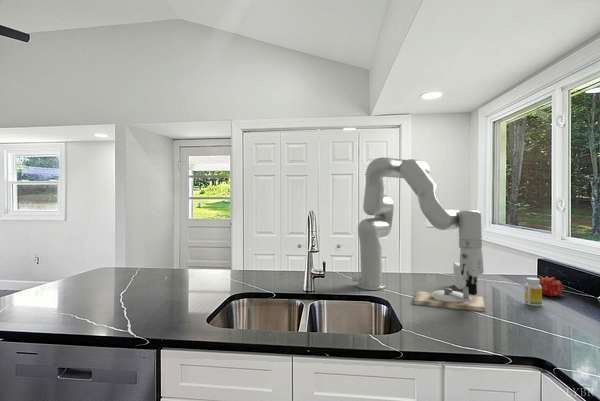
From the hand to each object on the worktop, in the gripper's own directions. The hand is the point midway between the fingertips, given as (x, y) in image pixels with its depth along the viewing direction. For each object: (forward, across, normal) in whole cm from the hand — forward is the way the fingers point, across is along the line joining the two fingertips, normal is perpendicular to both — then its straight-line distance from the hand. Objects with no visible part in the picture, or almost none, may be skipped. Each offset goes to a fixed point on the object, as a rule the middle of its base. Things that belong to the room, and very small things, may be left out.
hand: (471, 294), depth 127 cm
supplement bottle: (+5, +21, -14) cm, 26 cm away
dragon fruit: (+6, +38, -15) cm, 42 cm away
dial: (+3, 0, +7) cm, 8 cm away
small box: (+5, +28, +15) cm, 32 cm away
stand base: (+5, +1, +9) cm, 10 cm away
